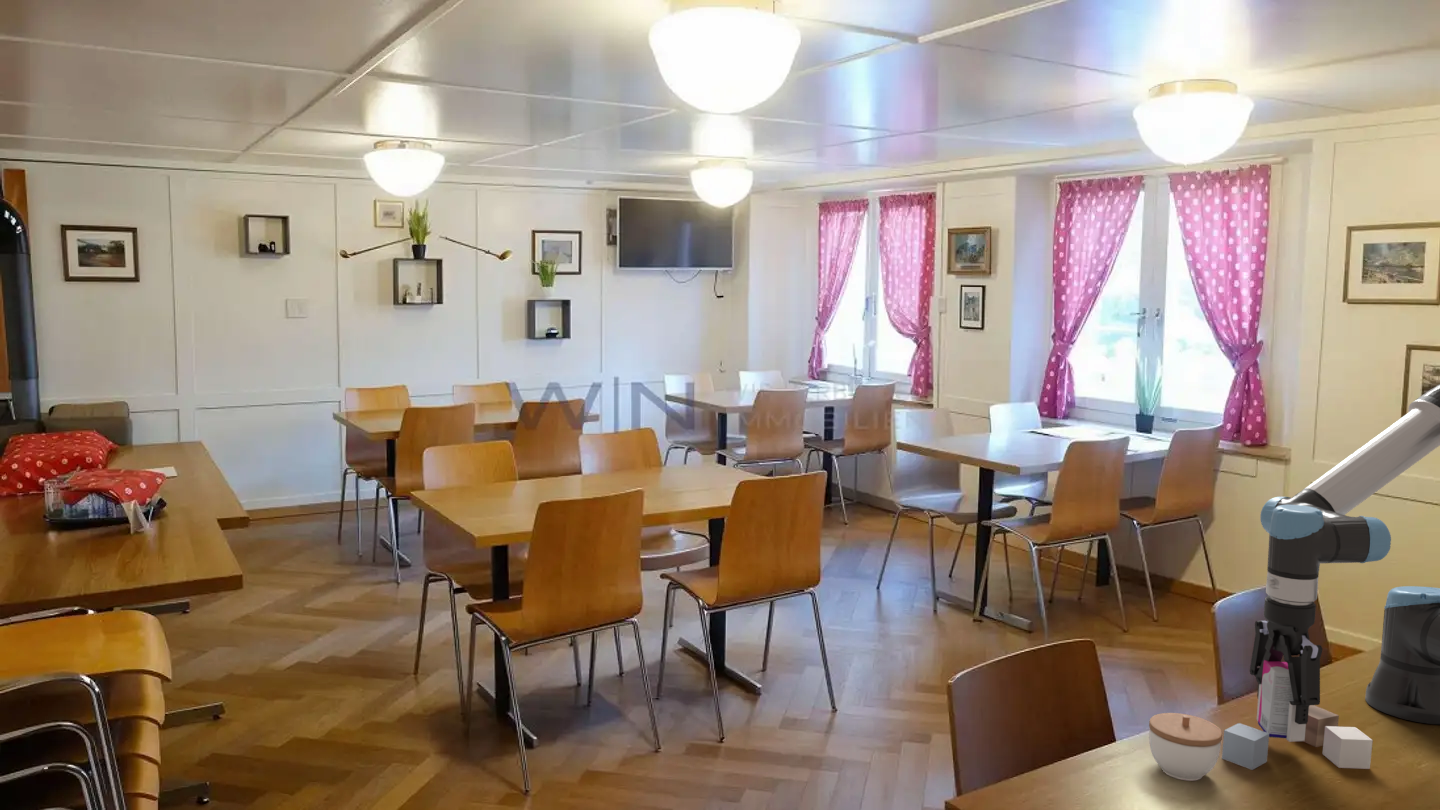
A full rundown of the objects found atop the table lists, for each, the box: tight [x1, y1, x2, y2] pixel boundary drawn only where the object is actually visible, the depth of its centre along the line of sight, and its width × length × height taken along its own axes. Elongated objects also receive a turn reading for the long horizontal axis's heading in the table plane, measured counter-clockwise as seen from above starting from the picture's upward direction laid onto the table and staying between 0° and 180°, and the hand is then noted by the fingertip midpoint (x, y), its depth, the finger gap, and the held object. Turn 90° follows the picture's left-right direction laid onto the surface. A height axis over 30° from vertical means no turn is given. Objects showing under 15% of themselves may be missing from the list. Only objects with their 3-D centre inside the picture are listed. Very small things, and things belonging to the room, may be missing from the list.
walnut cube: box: [1303, 705, 1340, 748], centre depth 183 cm, size 5×5×5 cm
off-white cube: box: [1322, 726, 1374, 770], centre depth 175 cm, size 5×5×5 cm
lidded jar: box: [1148, 712, 1223, 782], centre depth 169 cm, size 11×11×9 cm
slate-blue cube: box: [1221, 722, 1270, 771], centre depth 174 cm, size 5×5×5 cm
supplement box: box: [1257, 660, 1301, 740], centre depth 178 cm, size 6×6×12 cm
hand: (1279, 730), depth 178 cm, fingers closed on supplement box, 7 cm apart
